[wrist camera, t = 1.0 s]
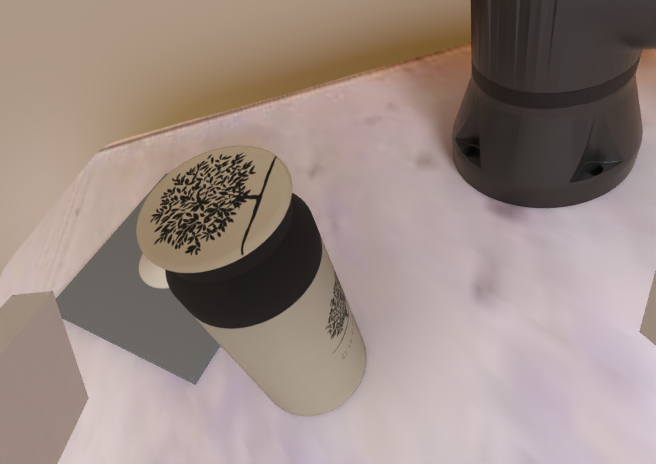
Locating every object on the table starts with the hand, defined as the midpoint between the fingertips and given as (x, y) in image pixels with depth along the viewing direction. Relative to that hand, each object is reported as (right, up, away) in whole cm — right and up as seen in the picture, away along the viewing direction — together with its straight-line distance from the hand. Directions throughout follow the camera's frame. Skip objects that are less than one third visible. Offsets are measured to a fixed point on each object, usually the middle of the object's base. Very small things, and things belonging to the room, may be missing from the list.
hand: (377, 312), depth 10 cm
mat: (-15, -1, +34) cm, 37 cm away
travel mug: (-2, -8, +25) cm, 26 cm away
